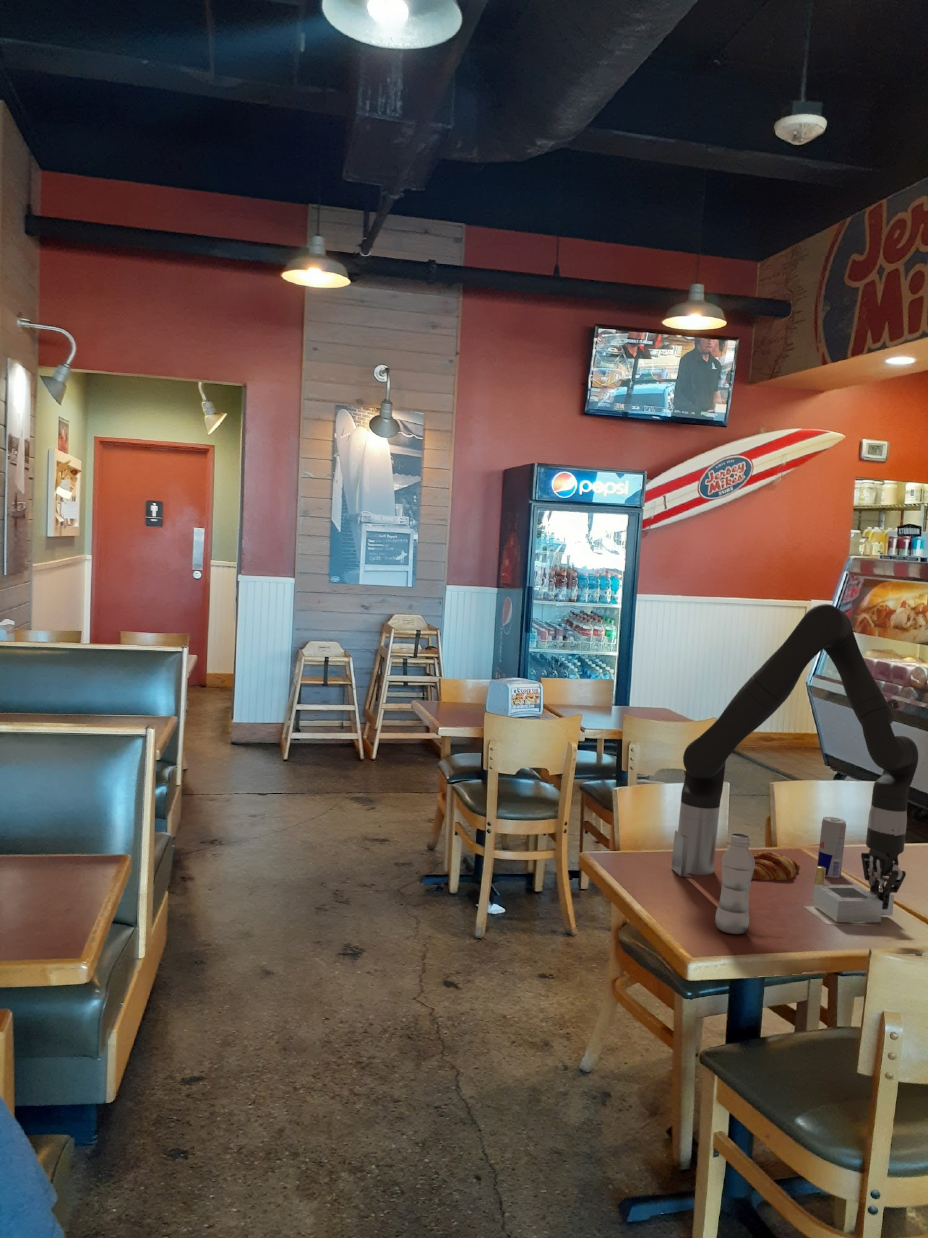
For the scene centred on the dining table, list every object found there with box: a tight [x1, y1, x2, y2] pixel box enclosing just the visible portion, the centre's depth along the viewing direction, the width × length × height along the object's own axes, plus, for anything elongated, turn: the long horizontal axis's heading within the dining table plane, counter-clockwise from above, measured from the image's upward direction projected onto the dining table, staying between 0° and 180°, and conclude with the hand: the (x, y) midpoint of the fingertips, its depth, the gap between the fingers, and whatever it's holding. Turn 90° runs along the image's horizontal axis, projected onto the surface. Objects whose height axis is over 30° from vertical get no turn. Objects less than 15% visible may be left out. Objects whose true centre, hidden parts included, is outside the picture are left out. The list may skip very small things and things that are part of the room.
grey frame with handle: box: [812, 883, 895, 923], centre depth 201 cm, size 15×10×4 cm, turn 97°
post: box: [812, 865, 826, 898], centre depth 208 cm, size 2×2×8 cm
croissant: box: [751, 851, 801, 881], centre depth 228 cm, size 21×10×8 cm, turn 127°
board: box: [802, 905, 880, 927], centre depth 205 cm, size 16×19×1 cm
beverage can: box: [816, 816, 847, 879], centre depth 230 cm, size 6×6×15 cm
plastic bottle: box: [714, 832, 755, 935], centre depth 189 cm, size 6×7×20 cm
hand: (878, 906), depth 202 cm, fingers closed on grey frame with handle, 2 cm apart
